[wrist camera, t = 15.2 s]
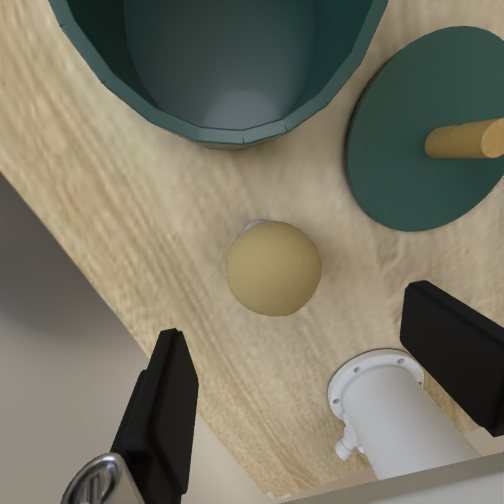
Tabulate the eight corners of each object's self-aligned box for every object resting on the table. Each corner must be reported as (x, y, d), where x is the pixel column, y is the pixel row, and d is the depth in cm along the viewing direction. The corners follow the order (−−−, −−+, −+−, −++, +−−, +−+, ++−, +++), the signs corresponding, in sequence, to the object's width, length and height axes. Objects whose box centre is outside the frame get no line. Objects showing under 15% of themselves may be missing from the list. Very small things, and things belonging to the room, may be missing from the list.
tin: (276, 176, 21) (306, 187, 13) (99, 103, 18) (-2, 59, 10) (359, -29, 17) (478, -199, 9) (142, -176, 13) (24, -649, 6)
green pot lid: (441, 248, 25) (502, 274, 20) (312, 196, 22) (342, 209, 16) (549, 88, 21) (671, 61, 15) (407, -11, 17) (495, -93, 12)
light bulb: (274, 276, 25) (303, 347, 15) (215, 254, 23) (208, 319, 14) (304, 220, 23) (357, 262, 13) (242, 192, 21) (254, 218, 12)
